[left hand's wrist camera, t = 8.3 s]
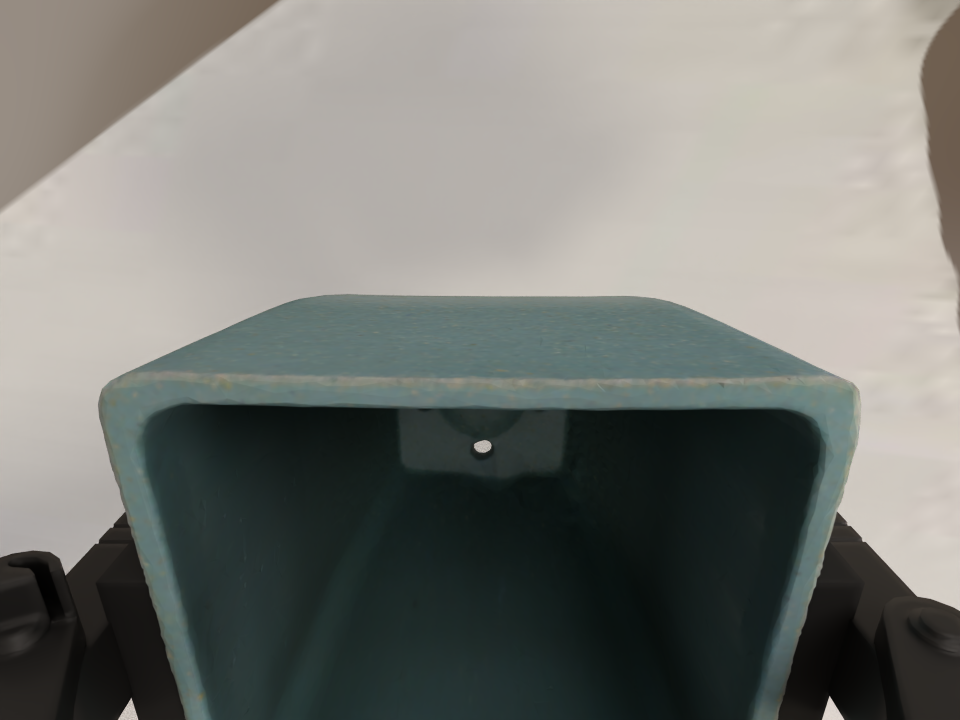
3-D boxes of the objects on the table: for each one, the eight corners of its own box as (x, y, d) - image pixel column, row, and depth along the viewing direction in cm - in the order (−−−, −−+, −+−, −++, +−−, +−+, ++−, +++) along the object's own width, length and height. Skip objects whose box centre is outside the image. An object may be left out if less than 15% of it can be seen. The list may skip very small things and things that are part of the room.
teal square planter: (338, 523, 18) (213, 867, 9) (306, 237, 15) (75, 377, 6) (620, 522, 18) (745, 866, 9) (651, 237, 15) (882, 376, 6)
